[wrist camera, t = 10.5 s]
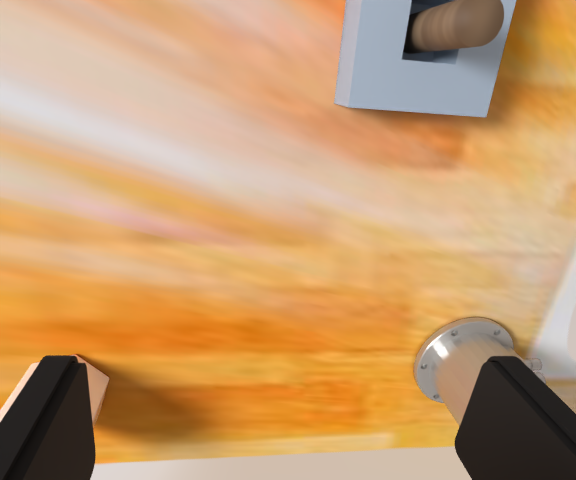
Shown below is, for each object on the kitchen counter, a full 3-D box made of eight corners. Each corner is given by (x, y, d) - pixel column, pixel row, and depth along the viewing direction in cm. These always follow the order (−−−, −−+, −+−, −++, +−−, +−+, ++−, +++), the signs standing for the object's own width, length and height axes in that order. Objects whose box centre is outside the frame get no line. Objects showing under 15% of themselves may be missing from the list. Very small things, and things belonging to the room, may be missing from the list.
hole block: (492, -40, 33) (530, -56, 28) (457, 112, 37) (486, 117, 33) (352, -60, 31) (372, -80, 27) (334, 103, 35) (348, 107, 31)
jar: (6, 384, 42) (-72, 495, 31) (59, 339, 41) (-4, 438, 30) (76, 426, 45) (28, 539, 34) (126, 386, 44) (93, 490, 33)
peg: (432, 16, 33) (510, -6, 24) (425, 55, 34) (496, 48, 25) (398, 12, 33) (464, -12, 24) (392, 52, 34) (453, 44, 25)
